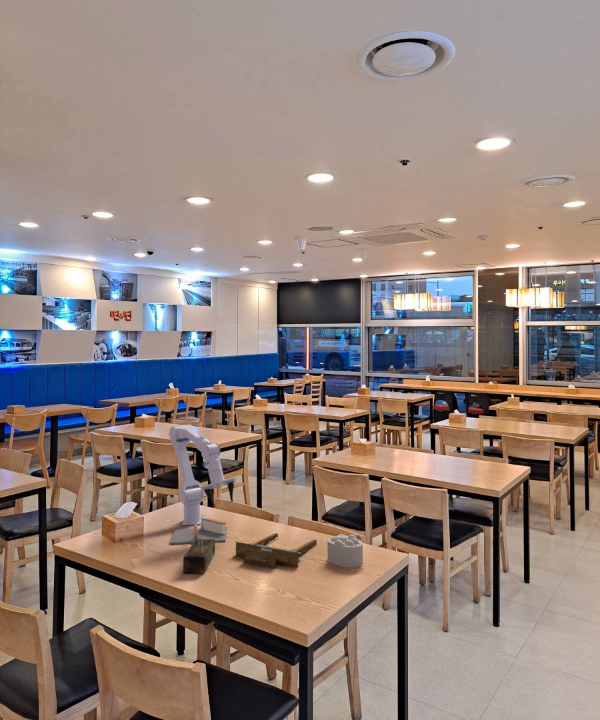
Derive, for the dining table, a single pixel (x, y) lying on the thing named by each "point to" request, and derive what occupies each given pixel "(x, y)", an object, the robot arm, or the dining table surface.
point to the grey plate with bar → (195, 535)
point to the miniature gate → (271, 552)
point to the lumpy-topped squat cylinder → (345, 550)
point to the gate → (213, 525)
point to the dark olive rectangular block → (198, 556)
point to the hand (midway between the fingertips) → (223, 504)
